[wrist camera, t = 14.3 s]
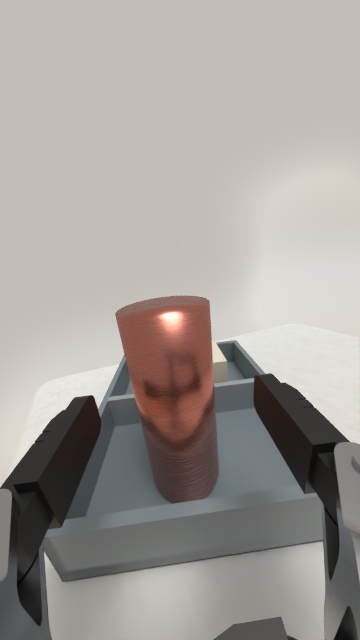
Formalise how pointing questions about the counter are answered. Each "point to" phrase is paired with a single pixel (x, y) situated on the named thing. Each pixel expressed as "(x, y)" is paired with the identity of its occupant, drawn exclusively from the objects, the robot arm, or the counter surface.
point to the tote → (186, 517)
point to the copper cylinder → (174, 391)
